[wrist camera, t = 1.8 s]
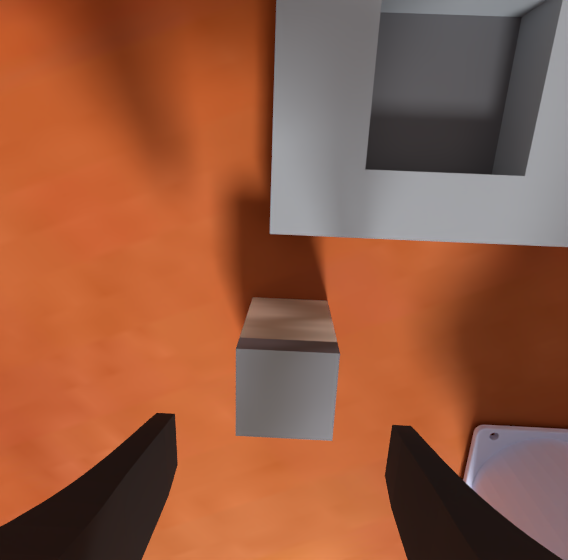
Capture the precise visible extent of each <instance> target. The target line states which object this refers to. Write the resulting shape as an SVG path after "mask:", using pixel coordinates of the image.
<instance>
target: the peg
mask: <svg viewBox="0 0 568 560" xmlns="http://www.w3.org/2000/svg"><path fill="white" fill-rule="evenodd" d="M339 358H340V352H339V348H338V343H337V339H336V335H335V331H334V326H333V322H332V318H331V314H330V310H329V305H328V301H324V300H302V299H280V298H259V297H253V298H252V301H251V304H250V307H249V310H248V313H247V316H246V319H245V323H244V326H243V329H242V332H241V335H240V338H239V341H238V344H237V347H236V436H253V437H272V438H291V439H310V440H330V441H332V436H333V425H334V414H335V403H336V392H337V381H338V369H339Z"/></svg>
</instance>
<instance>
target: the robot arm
mask: <svg viewBox="0 0 568 560" xmlns="http://www.w3.org/2000/svg"><path fill="white" fill-rule="evenodd" d="M492 433H495V434H494V435H491V436H490V434H492ZM176 468H177V446H176V427H175V414H166V413H156V414H155V415H154V416H153V417H152V418H150V419H149V420H148V421H147V422H146V423H145V424H144V425H142V426H141V427H140V428H139V429H138V430H137V431H136V432H135V433H133V434H132V435H131V436H130V437H129V438H128V439H127V440H126V441H124V442H123V443H122V444H121V445H120V446H119V447H117V448H116V449H115V450H114V451H113V452H111V453H110V454H109V455H108V456H107V457H106V458H104V459H103V460H102V461H100V462H99V463H98V464H97V465H95V466H94V467H93V468H92V469H90V470H89V471H88V472H86V473H85V474H84V475H82V476H81V477H80V478H78V479H77V480H76V481H74V482H73V483H71V484H70V485H69V486H67V487H66V488H64V489H63V490H61V491H60V492H58V493H57V494H55V495H54V496H52V497H50V498H49V499H47V500H46V501H44V502H43V503H41V504H39V505H37V506H36V507H34V508H32V509H31V510H29V511H27V512H26V513H24V514H22V515H20V516H19V517H17V518H15V519H14V520H12V521H10V522H8V523H7V524H5V525H3V526H1V527H0V560H141V559H142V557H143V555H144V552H145V550H146V548H147V545H148V543H149V541H150V538H151V536H152V534H153V531H154V529H155V527H156V524H157V522H158V519H159V517H160V515H161V512H162V510H163V507H164V505H165V503H166V500H167V498H168V495H169V492H170V489H171V485H172V482H173V479H174V475H175V471H176ZM385 478H386V483H387V489H388V494H389V499H390V504H391V508H392V511H393V515H394V518H395V521H396V524H397V528H398V531H399V534H400V537H401V540H402V543H403V546H404V550H405V553H406V556H407V559H408V560H568V429H558V428H539V427H520V426H501V425H480V426H477V427H476V428H475V430H474V433H473V437H472V442H471V447H470V451H469V456H468V460H467V465H466V469H465V474H464V479H463V480H462V479H461V478H460V477H459V476H458V475H457V474H456V473H455V472H454V471H453V470H452V469H451V468H450V467H449V466H448V465H447V464H446V463H445V462H444V461H443V460H442V459H441V458H440V457H439V456H438V454H437V453H436V452H435V451H434V450H433V449H432V448H431V447H430V446H429V445H428V444H427V443H426V442H425V441H424V439H423V438H422V437H421V436H420V435H419V434H418V433H417V432H416V431H415V430H414V429H413V428H412V427H411V426H401V425H392V431H391V438H390V445H389V451H388V458H387V465H386V472H385Z"/></svg>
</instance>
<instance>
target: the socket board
mask: <svg viewBox="0 0 568 560" xmlns="http://www.w3.org/2000/svg"><path fill="white" fill-rule="evenodd" d="M270 234H283V235H306V236H328V237H351V238H374V239H396V240H419V241H441V242H464V243H487V244H509V245H532V246H554V247H568V0H276V30H275V65H274V100H273V135H272V170H271V206H270Z"/></svg>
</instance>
